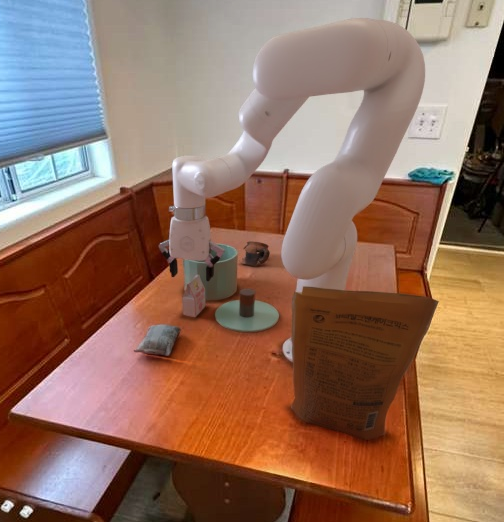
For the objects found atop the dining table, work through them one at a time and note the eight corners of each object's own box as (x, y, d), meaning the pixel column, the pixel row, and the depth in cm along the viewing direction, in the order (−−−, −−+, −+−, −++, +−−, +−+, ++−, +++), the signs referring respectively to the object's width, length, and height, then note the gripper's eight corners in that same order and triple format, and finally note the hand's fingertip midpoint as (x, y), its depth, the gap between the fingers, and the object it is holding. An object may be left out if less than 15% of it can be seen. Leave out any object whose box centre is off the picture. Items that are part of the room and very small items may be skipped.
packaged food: (134, 359, 94) (132, 342, 91) (149, 333, 103) (148, 316, 100) (170, 363, 92) (169, 345, 89) (182, 336, 101) (181, 319, 99)
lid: (273, 338, 98) (275, 311, 94) (207, 329, 103) (206, 303, 99) (282, 306, 111) (285, 281, 107) (223, 300, 116) (224, 275, 112)
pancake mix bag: (390, 455, 66) (441, 307, 51) (277, 421, 74) (292, 284, 59) (393, 428, 71) (440, 286, 56) (287, 399, 79) (303, 267, 64)
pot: (230, 304, 114) (230, 265, 107) (177, 298, 119) (174, 260, 112) (242, 281, 126) (243, 245, 120) (193, 277, 131) (192, 241, 125)
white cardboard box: (183, 316, 110) (181, 283, 104) (193, 305, 114) (192, 273, 109) (195, 319, 108) (194, 285, 103) (205, 307, 113) (204, 275, 108)
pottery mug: (234, 263, 140) (239, 240, 139) (254, 269, 145) (259, 246, 144) (257, 265, 130) (263, 239, 129) (277, 271, 135) (283, 247, 134)
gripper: (150, 214, 96) (156, 279, 106) (220, 219, 91) (219, 287, 100) (162, 205, 102) (166, 268, 111) (228, 209, 97) (226, 274, 106)
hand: (191, 277), depth 106 cm, fingers open, 9 cm apart
